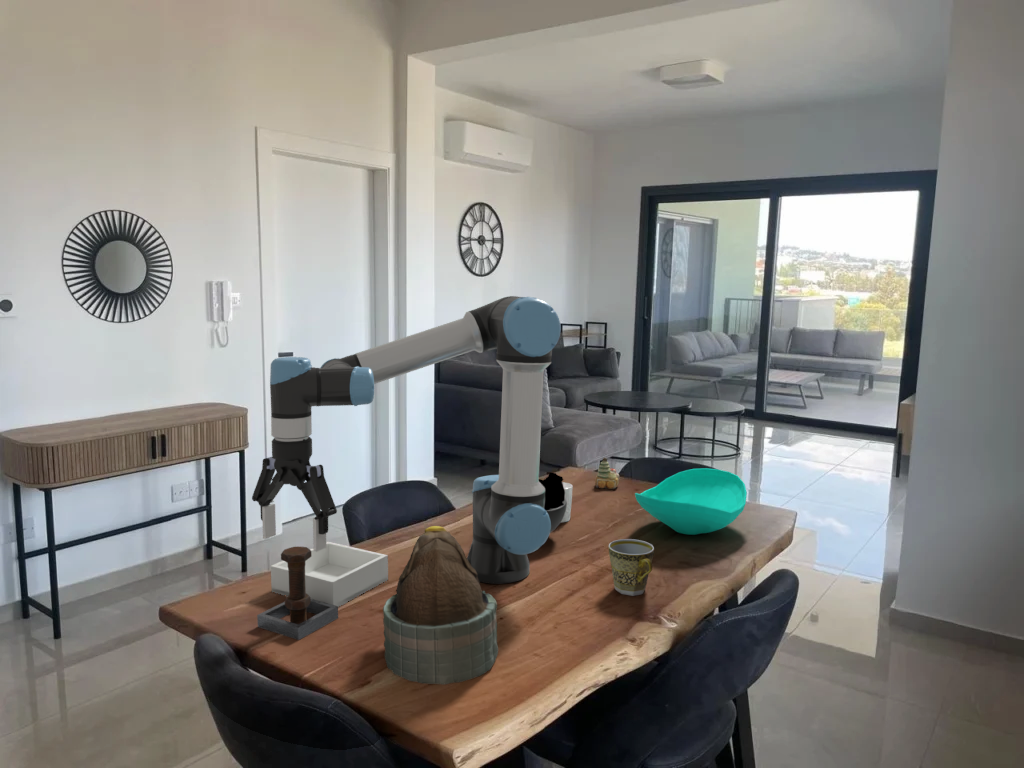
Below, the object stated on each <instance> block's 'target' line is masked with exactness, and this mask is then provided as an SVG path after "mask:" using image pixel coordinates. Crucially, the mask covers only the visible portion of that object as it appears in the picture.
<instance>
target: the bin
mask: <svg viewBox="0 0 1024 768" xmlns="http://www.w3.org/2000/svg"><path fill="white" fill-rule="evenodd" d="M309 549H310V550H311V557H310V558H309V559H308V560H306V561H305V584H306V593H307V594H308V595H309V596H310V597H311V599H314V600H317V601H321V602H324V603H328V604H331V605H335V606H338V608H340V607H341V605H342V606H344V605H345V604H347V603H348V601H349V602H351V601H352V599H353V600H355V599H356V598H358V597H360V596H362V595H364V594H366V593H367V592H366V591H368V590H369V591H371V590H373V589H375V588H377V587H379V586H380V585H379V584H381V583H382V584H384V583H386V582H388V581H389V555H388V554H383V553H380V552H375V551H370V550H367V549H363V548H358V547H353V546H349V545H345V544H342V543H336V542H331V541H326V548H324V549H322V550H319V551H317V552H316V551H314V549H313V547H312V548H309ZM387 580H388V581H387ZM385 581H386V582H385ZM270 582H271V587H270V588H271V592H272V593H273V592H275V593H274V594H277V593H278V595H280V594H281V596H284V595H286V596H285V597H287V596H288V595H289V571H288V563H287V562H285V561H283V560H281V561H278V562H276V563H274V564H272V565H270ZM383 582H384V583H383ZM382 584H381V585H382ZM378 585H379V586H378ZM376 586H377V587H376ZM374 587H375V588H374ZM372 588H373V589H372ZM370 589H371V590H370ZM369 591H368V592H369ZM365 592H366V593H365ZM363 593H364V594H363ZM361 594H362V595H361ZM359 595H360V596H359ZM357 596H358V597H357ZM355 597H356V598H355ZM354 598H355V599H354ZM350 600H351V601H350ZM339 606H340V607H339Z"/></svg>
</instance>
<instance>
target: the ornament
mask: <svg viewBox="0 0 1024 768" xmlns="http://www.w3.org/2000/svg"><path fill="white" fill-rule="evenodd" d="M619 478H620V474H619V473H617V469H615V468H611V466H610V463H609V461H608V458H607V457H603V458H602V461H600V464H599V466H598V469H597V474H596V477H595V479H594V481H595V482H594V485H595V487H596V489H597V488H599V489H609V490H611V489H612V490H614V489H617V487H618V486H619V482H620V481H619V480H620V479H619Z"/></svg>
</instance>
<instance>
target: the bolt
mask: <svg viewBox="0 0 1024 768" xmlns="http://www.w3.org/2000/svg"><path fill="white" fill-rule="evenodd" d="M310 549H311V548H309V547H306V546H292V547H288V548H285V549H284V550H282V551H281V553H280V560H281V561H285V562H287V563H288V571H289V595H288V596H285V599H284V602H285V606H286V607H287V608H288V609H290V614H289V619H290V620H289V622H292V623H295V624H300V623H302V622H304V621H306V620H308V618H307V612H306V608H307V607H308V606H309V604H310V603H311V597H310V596H309V595H308V594H307V593H306V584H305V561H306V560H308V559H309V558H310V557H311V550H310Z"/></svg>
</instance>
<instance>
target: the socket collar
mask: <svg viewBox="0 0 1024 768" xmlns="http://www.w3.org/2000/svg"><path fill="white" fill-rule="evenodd" d="M306 613H311V614H313V616H311V617H310V618H307V619H306V621H304V622H302V623H300V624H295V623H292V622H290V620H289V621H288V620H285V619H282V618H285V617H286V616H288V615H290V609H288V608H287V607H286V606H285V601H283V602H281V603H279V604H277V605H275V606H273V607H271V608H269V609H267V610H265V611H263V612H261V613H258V614H257V615H256V618H257V628H260V629H264V630H266V631H270V632H272V633H276V634H278V635H282V636H283V637H287V638H291V639H294V640H297V641H300V640H301V639H303V638H305V637H307V636H309V635H311V634H312V633H314V632H315V631H316V632H317V631H318V630H319V629H321V628H323V627H325V626H326V625H328V624H330V623H332V622H333V621H336V620H337V619H339V607H338V606H335V605H331V604H328V603H324V602H321V601H317V600H314V599H311V603H310V604H309V606H308V607H307V608H306Z"/></svg>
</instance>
